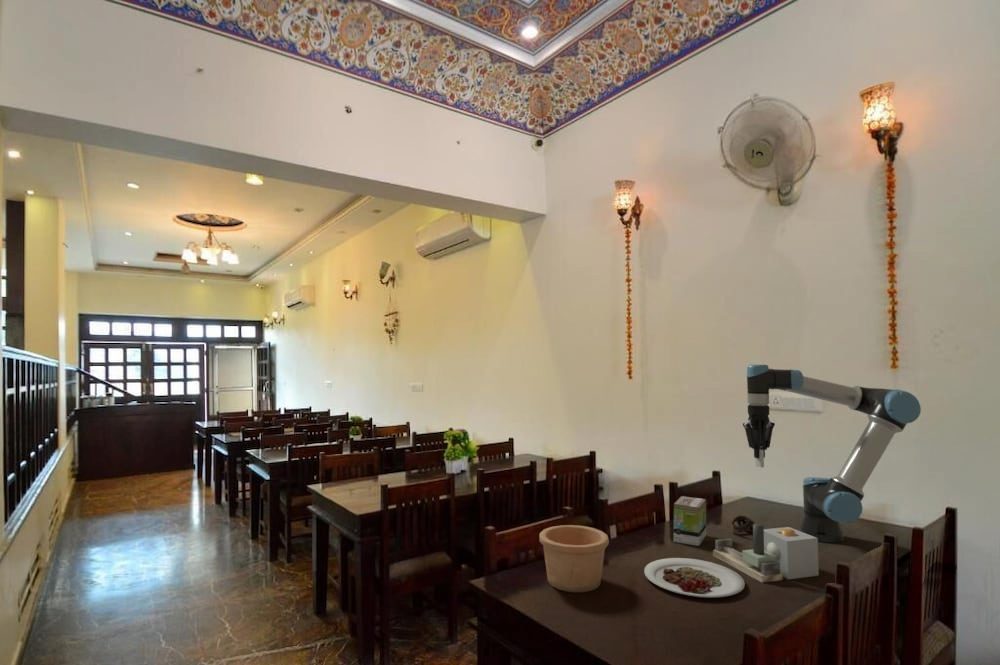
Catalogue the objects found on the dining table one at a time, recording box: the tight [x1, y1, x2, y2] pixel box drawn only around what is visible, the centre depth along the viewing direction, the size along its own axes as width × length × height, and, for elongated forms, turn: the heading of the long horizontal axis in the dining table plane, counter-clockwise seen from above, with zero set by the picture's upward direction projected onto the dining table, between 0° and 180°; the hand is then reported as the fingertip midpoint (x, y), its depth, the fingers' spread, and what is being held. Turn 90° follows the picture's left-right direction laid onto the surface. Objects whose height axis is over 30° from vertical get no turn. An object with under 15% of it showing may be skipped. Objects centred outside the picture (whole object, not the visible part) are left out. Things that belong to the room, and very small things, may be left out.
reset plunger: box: [781, 529, 795, 537], centre depth 179 cm, size 4×4×8 cm
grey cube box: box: [764, 526, 820, 580], centre depth 179 cm, size 12×12×12 cm
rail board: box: [712, 537, 784, 584], centre depth 182 cm, size 8×24×6 cm, turn 15°
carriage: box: [741, 523, 776, 567], centre depth 176 cm, size 7×7×12 cm
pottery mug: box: [731, 514, 756, 535], centre depth 217 cm, size 12×10×8 cm
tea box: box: [673, 495, 707, 547], centre depth 211 cm, size 15×10×15 cm
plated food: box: [643, 557, 746, 598], centre depth 171 cm, size 30×30×3 cm
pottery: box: [538, 524, 610, 594], centre depth 170 cm, size 22×22×14 cm
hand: (759, 466), depth 205 cm, fingers closed
